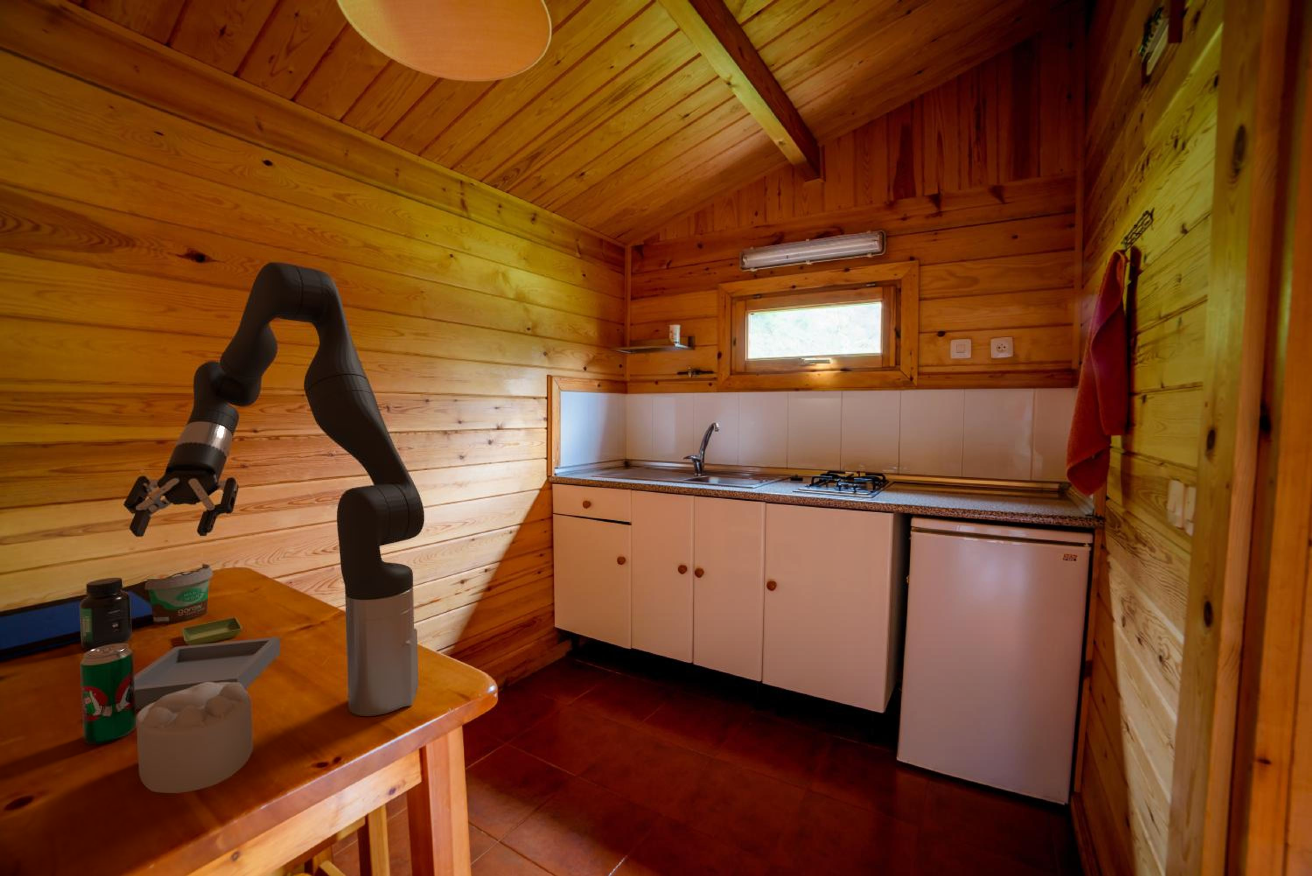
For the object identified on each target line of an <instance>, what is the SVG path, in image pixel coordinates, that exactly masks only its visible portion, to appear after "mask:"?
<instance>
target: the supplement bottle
mask: <svg viewBox="0 0 1312 876" xmlns="http://www.w3.org/2000/svg"><path fill="white" fill-rule="evenodd" d="M85 588H86V589H85V590H86V591H85V594H86V595H87V596H86V597H84V598H83V599H82V600H81V601H80V603H79V606H78V607H79V621H80V622H79V623H80V642H81V643H80V644H81V647H82V649H85V650H88V651H90V650H92V649H95V648H98V647H101V646H105V645H110V644H118V643H126V642H128V641H129V640H130V639H131V638H132V636H133V632H132V631H133V627H132V625H133V624H132V605H131V604H132V603H131V602H132V601H131V595H130V593H128V592H127V591H125V590H122V589H123V588H124V585H123V578H122V577H109V578H108V577H106V578H100V579H96V580H92V581H90V582H88V583H86V585H85Z"/></svg>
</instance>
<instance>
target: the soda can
mask: <svg viewBox="0 0 1312 876" xmlns="http://www.w3.org/2000/svg"><path fill="white" fill-rule="evenodd" d="M133 652H134V651H133V650H132V649H131V648H130V645H129V644H128V643H126V642H124V643H118V644H110V645H105V646H101V647H98V648H95V649H92V650H87V651H86V652H85V653H84V654H83V658H82V660H81V661H80V663H79V671H80V673H79V676H80V688H81V689H80V692H81V709H82V725H83V740H84V742H86V743H88V744H90V745H102V744H108V743H111V742H115V741H117V740H119V739H122V738H124V737H125V736H127V735H129V734H130V733H131V732H132V731H133V730H134V729H135V727H137V722H136V717H137V711H136V710H137V709H136V706H135V686H134V676H135V671H134V670H135V669H134V668H135V667H134V653H133ZM114 740H115V741H114Z"/></svg>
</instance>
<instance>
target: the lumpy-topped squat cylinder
mask: <svg viewBox="0 0 1312 876" xmlns="http://www.w3.org/2000/svg"><path fill="white" fill-rule="evenodd" d="M251 700H252V699H251V696H250V694H249V692H248V691H246V689H245V690H244V687H243V685H242V684H240V683H237V682H232V683H230V682H220V683H213V682H204V683H201V684H199V685H196V686H193V687H191V688H188V689H185V690H181V691H177V692H174V693H171V694H168V695H165V696H163V697H161V698H160V699H159V700H158V701H156V702H154V703H151V704H149V705H148V706H146V707H144V708H143V709H140V711H138V713H136V736H137V738H136V739H137V757H138V758H137V759H138V774H139V777H140V781H141V782H142V784H143V785H144V786H145V787H146V788H147V789H148V790H149V791H151V792H155V793H163V794H164V793H165V794H166V793H167V794H180V793H186V792H187V793H188V792H193V791H198V790H202V789H206V788H210V787H213V786H215V785H217V784H219V783H221V782H224V781H225V780H227V779H229V778H230V777H232V776H234V774H236V773H237V772H238V771H240V770H241V768H243V767H244V765H246V763H247V762H248V761H249V759H250V757H251V755H252V752H253V749H254V747H253V746H254V745H253V724H252V723H253V718H252V701H251Z"/></svg>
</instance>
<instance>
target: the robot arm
mask: <svg viewBox="0 0 1312 876" xmlns="http://www.w3.org/2000/svg"><path fill="white" fill-rule="evenodd" d="M246 300H247V301H246V304H245V307H244V310H243V313H242V316H241V318H240V323H239V324H238V328H237V331H236V333H235V334H234V336H233V337H232V339H231V341H230V342H229V343H228V345H227V347H226V348H225V349H224V351H223V352H222V354H221V356H220V358H219V361H215V360H210V361H206V362H204V363H202V364H200V365H199V366H198V368H197V369H196V371H195V373H194V374H193V375H194V376H193V385H192V387H193V389H192V390H193V405H192V406H193V407H192V410H191V413H190V416H189V418H188V420H187V423H186V426H185V427H184V429H183V430H182V432H181V433H180V435H179V437H178V439H177V441H176V443H175V446H174V449H173V450H172V452H171V455H170V458H169V460H168V463H167V465H166V468H165V472H164V474H163V476H161V477H160V478H159V479H152V478H148V477H147V476H145V475H141V476H139V477H137V479H136V481H135V482H134V485H133V486H132V487H131V489H130V492H129V493H128V495H127V497H126V499H125V501H124V503H123V506H124V507H125V508H126V509H127V511H128V512H129V513H130V514H132V515H134V516H133V518H132V520H131V522H130V525H129V530H130V531H131V533H132V534H133V535H134V536H135V537H136V538H143V537H144V535H145V533H146V531H147V527H148V525H149V523H150V521H151V519H152V517H151V516H152V515H154V514H155V513H157V512H158V511H160V510H165V509H166V508H168V507H169V506H170V505H171V504H172V505H175V506H177V505H178V506H179V505H189V506H191V505H192V506H195V505H197V504H199V503H201V504H203V506H204V508H205V509H206V510H203V512H202V514H201V518H200V519H199V523H198V526H197V528H196V532H197V534H198V535H199V537H207V536H208V534H210V533H211V532H212V531H213V528H214V525H215V523H216V520H217V518H218V516H220V515H222V514H227V515H229V514H232V513H233V511H234V508H235V504H236V501H237V497H238V492H239V488H240V487H239V484H238V481H236V479H235V477H232V476H231V477H228V478H227V479H226V480H225V479H224V480H221V476H222V474H223V470H224V468H225V466H226V462H227V459H228V457H229V456H230V451H231V447H232V442H233V441H232V440H233V438H234V435H235V432H236V429H237V426H238V424H239V420H240V414H239V412H238V410H237V409H236V408H235V407H239V408H240V407H241V408H245V407H249V406H251V405H253V404H254V403H256V402H257V400H258V399H259V397H260V394H261V389H262V381H263V380H262V378H263V375H264V374H265V373H266V371H267V370H268V369H269V368H270V366H271V365H272V363H274V361H275V359H276V357H277V354H278V349H279V347H278V346H279V345H278V341H277V338H276V336H275V334H274V331H273V329H272V327H271V325H270V323H272V321H274V320H275V319H281V320H285V321H291V322H302V323H309V324H312V325H313V327H314V329H315V330H316V333H317V336H318V341H319V344H318V348H317V349H316V350H317V351H316V353H315V355H314V357H313V358H312V360H311V362H310V364H309V365H308V368H307V370H306V373H305V376H304V381H303V389H304V392H305V396H306V399H307V402H308V404H309V407H310V410H311V413H312V417H313V419H314V420H315V422H316V424H317V426H318V427H319V428H320V430H322V432H323V433H324V434H325V435H326V436H328V438H329V439H331V440H332V441H333V442H334V443H335V444H337V445H338V446H339V447H341V448H342V449H343V450H344V451H346V452H347V453H348V454H349V455H351V456H352V458H354V459H355V460H357V462H358V463H359V464H360V465H361V466H362V467H363V468H364V470H365V471H366V473H367V475H368V476H369V479H370V480H371V482H372V485H364V486H358V487H357V486H356V487H352V488H349V489H346V490H345V491H344V492H343V493H342V495H341V496H340V497H339V500H338V503H337V508H336V509H337V510H336V528H337V539H338V547H339V560H340V561H339V563H340V570H341V571H340V572H341V576H342V580H343V583H344V593H345V598H344V599H345V600H344V601H345V628H346V629H345V634H346V635H345V636H346V637H345V638H346V639H345V640H346V665H347V666H346V667H347V668H346V669H347V671H346V672H347V701H348V711H349V712H351V714H353V715H356V716H362V717H373V716H379V715H380V716H381V715H384V714H385V715H386V714H388V713H391V712H394V711H397V710H399V709H402V708H404V707H411V706H412V705H413V703H414V701H415V697H416V694H417V692H418V689H419V662H418V661H419V660H418V658H419V655H418V652H419V651H418V650H419V649H418V630H417V628H415V610H414V607H415V606H414V601H415V600H414V571H413V569H412V568H411V567H410V566H409V565H406V564H403V563H397V562H388V561H384V560H383V559H382V553H381V547H382V546H386V545H391V544H394V543H395V544H396V543H400V542H404V541H407V540H408V541H409V540H411V539H413V538H416V537H417V536H419V535H420V533H422V530H423V527H424V524H425V509H424V505H423V502H422V498H421V495H420V493H419V490H418V489H417V486H416V484H415V483H414V481H413V479H412V477H411V475H410V473H409V471H408V468H407V467H406V466H405V463H404V461H403V459H402V458H401V456H400V454H399V452H398V450H397V448H396V447H395V444H394V442H393V440H392V436H391V435H390V433H389V430H388V428H387V426H386V423H385V420H384V419H383V415H382V414H381V411H380V408H379V404H378V402H377V399H376V396H375V393H374V391H373V389H372V386H371V383H370V380H369V379H368V377H367V374H366V372H365V370H364V368H363V365H362V362H361V360H360V358H359V355H358V352H357V349H356V347H355V344H354V341H353V338H352V335H351V332H350V328H349V325H348V321H347V317H346V313H345V310H344V305H343V302H342V297H341V295H340V292H339V289H338V287H337V285H336V282H335V281H334V279H333V278H332V276H331V275H329V274H328V273H326V272H325V271H322V270H319V269H316V268H311V267H306V266H300V265H296V264H292V263H291V264H290V263H286V262H278V261H271V262H268V263H266V264H265V265H263V266H262V267H261V268H260V270H259V272H258V273H257V275H256V277H255V279H254V281H253V284H252V286H251V290H250V292H249V294H248V297H247V299H246ZM234 406H235V407H234ZM156 488H158V489H157V490H155V489H156ZM219 489H221V491H222V496H221V499H220V502H219V503H216V504H214V502H213V501H212V499H211V498H210V496H211V495H213V494H214V493H215V492H216V491H217V490H219ZM154 490H155V491H154ZM149 493H151V494H149ZM148 495H149V496H148ZM147 497H148V498H147ZM163 497H164V498H163ZM161 498H163V499H161ZM417 688H418V689H417Z"/></svg>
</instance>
